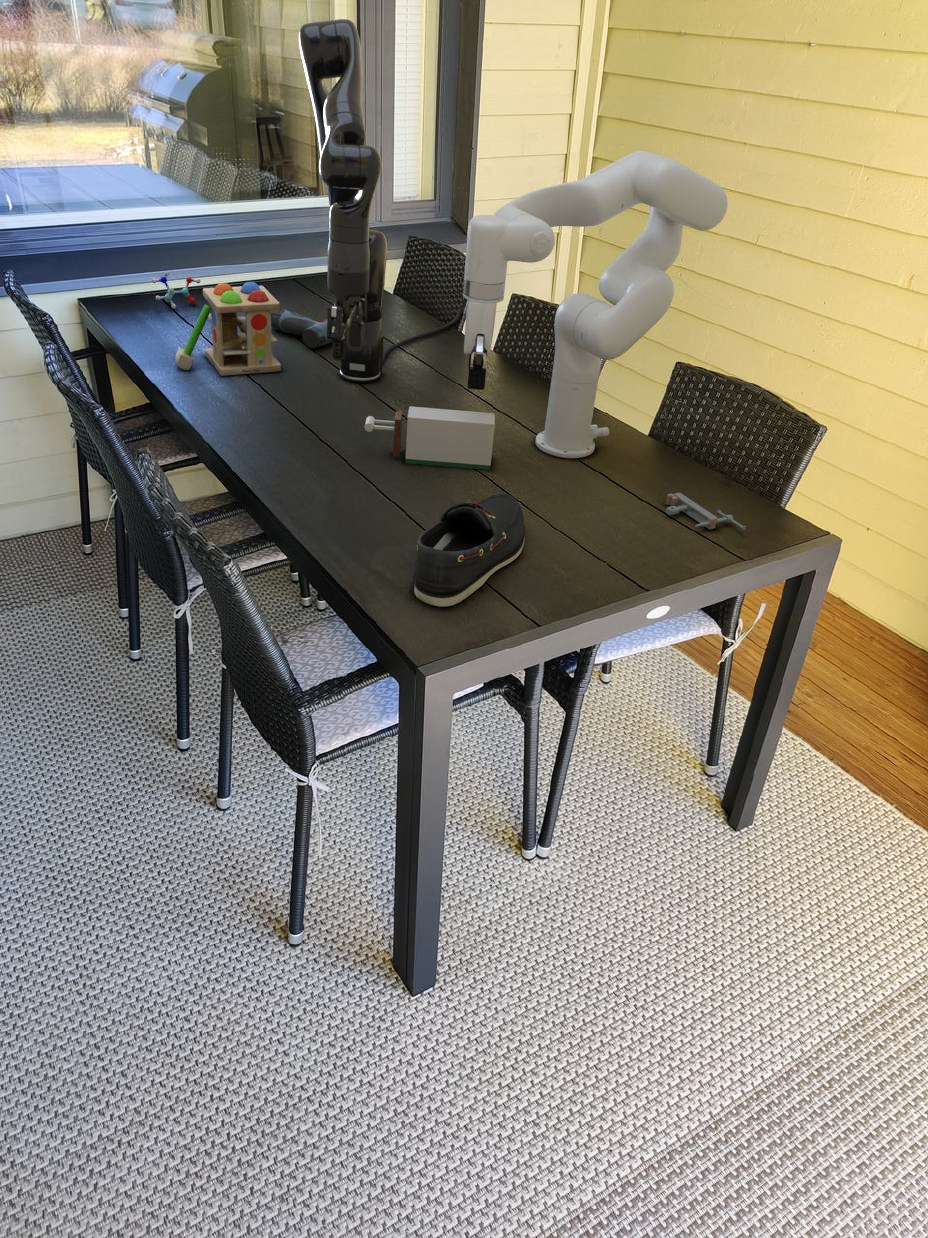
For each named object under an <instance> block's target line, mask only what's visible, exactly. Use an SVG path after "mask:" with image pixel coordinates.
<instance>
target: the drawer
mask: <svg viewBox="0 0 928 1238" xmlns="http://www.w3.org/2000/svg"><path fill="white" fill-rule="evenodd" d="M363 427H364V430H365V431H366V432H368V433H370V432H373V431H374V430H383V431H393V433H394V434H393V451H392V453H393V454H392V457H395V458H399V457H400V455H401V447H402V428H403V411H402V410H396V411H395V416H394V420H384V419H375V417H374V416H372V415H368V416H366V419H365V423H364V426H363Z"/></svg>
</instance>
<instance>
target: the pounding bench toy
mask: <svg viewBox="0 0 928 1238" xmlns="http://www.w3.org/2000/svg"><path fill="white" fill-rule="evenodd" d="M202 296H203V298H204V299H205V300H206V301H207V302H208V304H209V305H208V304H204V305H203V307H202V309H201V312H200V313H199V316H198V318H197V320H196V322H195V324H194V327H193V329H192V331H191V332H190V333H191V334H190V336H189V338H188V340H187V343H186V344H185V347H184V348H182V347H180V346H179V347H178V349H177V351H176V354H175V357H174V358H175V362H176V365H177V366H178V368H179V369H182V370H185V371H189V370H190V369H191V367H192V365H193V363H194V356H193V351H194V348H195V347H196V345H197V342H198V340H199V337H200V336H201V333H202V332H203V329H204V326H205V325H206V322H207V320H209V321H210V322H211V336H212V337H211V338H212V339H211V340H212V348H205V349H204V352H205V353H204V355H205V357H206V359H208V361H209V363H210V364H211V365H212V366H213V367H214V369H215V370H216V371H217V372H218V374H219V375H220V376H222V377H223V376H234V375H235V376H236V375H246V374H247V375H250V374H262V373H275V372H281V370H282V364H281V363H280V362H279V360H278V359H277V358H276V357H275V356H274V355H273V348H272V347H273V345H272V344H276V343H278V342H279V341H278V339H277V338H276V337H275V336H274V334H272V327H271V310H280V309H281V304H280V301H278V300H277V299H276V297H274V296H273V295H272V294H271V293H270V292H269V290H268V289H267V288H266V287H264V285H259V284H257V283H256V282H255V281H247V282H245V283H244V284H243V285H242V286H232V285H230V284H229V283H226V282H221V283H218V284H217V285H216V286H215V287H204V288H203V289H202ZM238 313H244V314H245V315H244V316H238ZM238 329H239V331H240V333H239V334H238Z"/></svg>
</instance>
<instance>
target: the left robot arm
mask: <svg viewBox="0 0 928 1238" xmlns="http://www.w3.org/2000/svg"><path fill="white" fill-rule="evenodd" d="M360 39H361V38H360V35H359V30H358V29H357V26H356V24H355V23H354V22H353V21H352V20H351V19H347V18H338V19H330V20H320V21H312V22H307V23H304V24H302V25H301V27H300V29H299V32H298V43H299V44H298V45H299V50H300V51H299V52H300V57H301V61H302V66H303V70H304V74H305V78H306V83H307V87H308V93H309V96H310V100H311V105H312V110H313V114H314V120H315V121H314V122H315V129H316V134H317V141H318V148H319V156H320V158H319V162H318V172H319V175H320V178H321V180H322V181H323V183H324V184H325V187H326V192H327V198H328V205H329V214H328V215H329V216H328V217H329V218H328V219H329V223H328V224H329V226H328V227H329V228H328V229H329V231H328V246H327V279H326V280H327V281H326V282H327V283H326V284H327V286H326V287H327V290H328V292H329V293H330V294H333V295H334V296H335V301H334V304H333V305H330V304H329V305H328V306H327V315H326V316H327V318H326V320H327V339H332V340H333V342H331V343H332V344H331V345H332V348H331V349H332V351H331V353H332V355H331V356H332V359H333V360H335V361H339V362H340V369H339V376H340V377H341V378H342V380H345V381H348V382H352V383H359V384H360V383H361V384H364V383H365V384H366V383H367V384H369V383H373V382H376V381H378V380H380V378H381V375H382V374H383V363H384V361H385V359H386V357H387V355H388V354H389V353H390V352H391V351H393V350H395V349H396V348H399V347H401V346H403V345H406V344H407V343H411V342H413V341H416V340H419V339H422V338H425V337H428V336H431V335H433V334H436V333H439V332H441V331H444V330H446V329H447V328H449V327H451V326H453V325H454V324H455V323H456V322H458V320H459V319H460V316H462V314H463V312H462V310H461V309H457V312H456V315H455V318H453V319H452V320H451V321H448V322H447V323H446V324H444V325H442V326H439V327H437V328H435V329H431V330H429V331H426V332H423V333H420V334H415V335H414V336H411V337H408V338H405V339H403V340H401V341H399V342H396V343H394V344H392V345H390V346H389V347H387V348H386V349H385V350H384V335H383V334H382V323H383V299H384V298H383V297H384V291H385V285H386V284H385V281H386V280H385V279H386V271H387V269H386V268H387V260H388V259H387V258H388V243H387V238H386V236H385V234H384V233H383V232H382V231H379V230H375V229H370V218H371V211H372V210H371V209H372V205H373V200H374V197H375V194H376V191H377V187H378V184H379V181H380V177H381V173H382V167H383V165H382V158H381V156H380V153H379V151H378V150H377V149H376V147H374V146H373V145H370V144H369V145H368V144H366V139H367V132H366V125H365V120H364V112H363V104H362V103H363V102H362V101H363V56H362V55H363V54H362V47H361V46H362V45H361V40H360ZM336 78H338V79H337V81H336V83H335V84H334V85H333V87H332V89H330V91H329V89H328V87H327V84H326V82H325V80H326V79H327V80H328V79H336ZM460 310H461V311H460ZM332 326H333V328H332ZM336 331H337V333H336Z"/></svg>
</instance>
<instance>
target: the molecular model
mask: <svg viewBox="0 0 928 1238" xmlns="http://www.w3.org/2000/svg"><path fill="white" fill-rule="evenodd" d="M163 273H164V275H163V276H161V277H160V278H158V279H156V278H151V282H152V283H153V284H156V283H162V284H164V286H165V287H166V289H167V292H166V294H165V295H163V296H160V295H156V296H155V300H156V301H160V300H165V302H167V303H170V305H171V309H173V310H176V308H177V305H176V304H175V303H174V302H173V300H172V299H173V297H174V296H175V295H176V294H182V295H183V296H185V297H186V298H187V299H188V301H189V303H190V304H191V305H194V304H196V298H194V297H192V295H191V294H190V293H189V289H188V288H189V285H190V284H191V283H196V284H200V283H201V279H200V278H196V279H193V278H192V277H190V276H188V277H186V279H185V281H186V284H185V286H184V287H183V288H181V290H175V289H174V287H170V286H169V284H168V278H167V277H168V276H169V275H170V271H168V270H165V271H163Z"/></svg>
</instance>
